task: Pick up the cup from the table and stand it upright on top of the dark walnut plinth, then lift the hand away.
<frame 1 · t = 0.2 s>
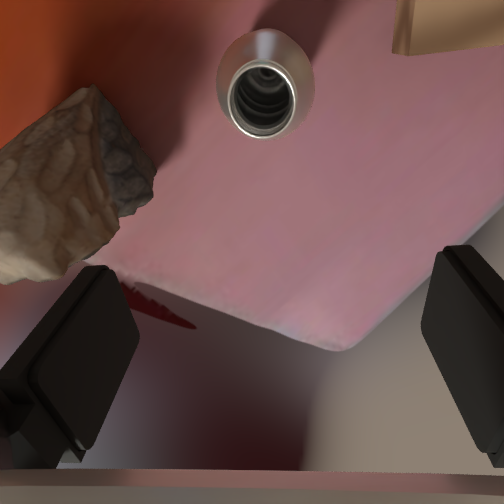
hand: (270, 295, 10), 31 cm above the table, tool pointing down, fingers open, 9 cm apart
plastic bottle: (268, 67, 34), on the table
brown rock: (103, 145, 40), on the table
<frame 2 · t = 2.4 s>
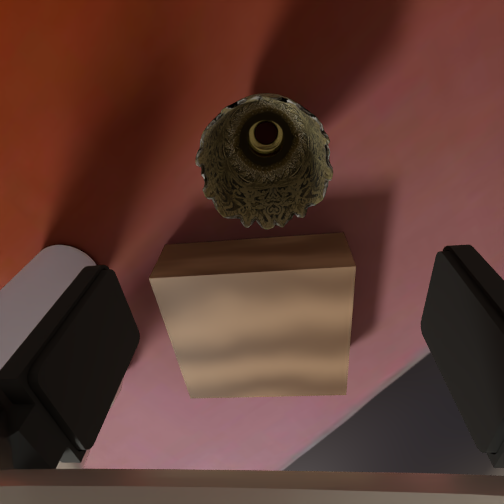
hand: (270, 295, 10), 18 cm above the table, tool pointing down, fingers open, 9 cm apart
spray bottle: (72, 267, 33), on the table
walnut plinth: (260, 305, 34), on the table
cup: (266, 132, 25), on the table
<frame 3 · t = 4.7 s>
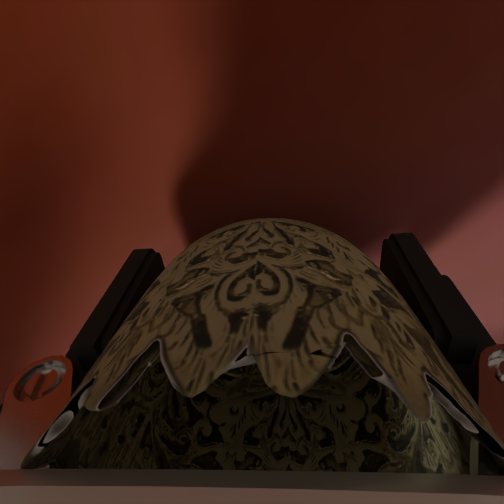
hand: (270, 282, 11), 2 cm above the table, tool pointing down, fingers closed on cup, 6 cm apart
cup: (272, 252, 12), on the table, touching gripper
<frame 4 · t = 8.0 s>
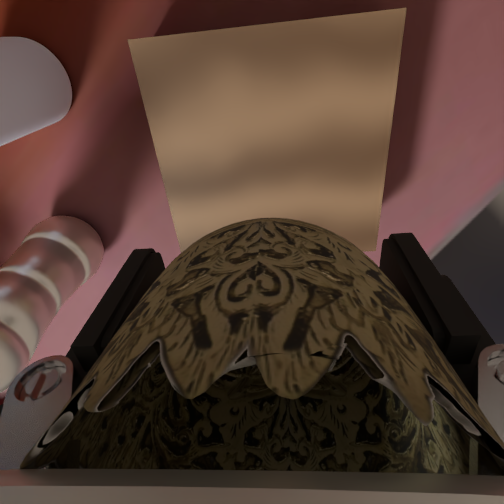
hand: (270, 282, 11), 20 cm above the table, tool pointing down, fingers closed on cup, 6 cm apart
spray bottle: (37, 82, 26), on the table
walnut plinth: (271, 141, 28), on the table
plastic bottle: (79, 236, 34), on the table
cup: (273, 252, 12), point 18 cm above the table, touching gripper
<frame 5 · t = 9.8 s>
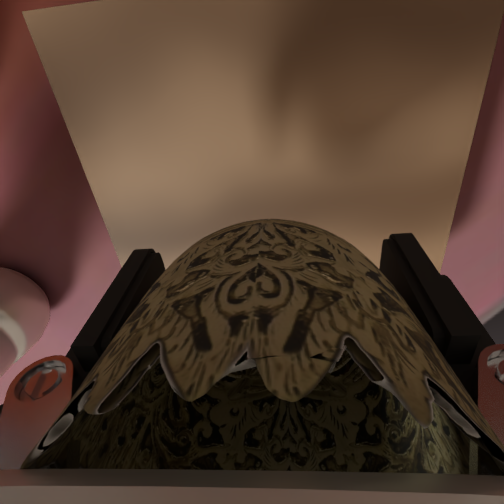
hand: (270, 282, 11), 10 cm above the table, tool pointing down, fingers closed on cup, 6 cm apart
walnut plinth: (271, 167, 19), on the table
plastic bottle: (20, 289, 26), on the table
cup: (273, 253, 12), point 9 cm above the table, touching gripper
when the fingers open (8 cm above the table, at t = 11.2 s): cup drops 1 cm, resting on walnut plinth.
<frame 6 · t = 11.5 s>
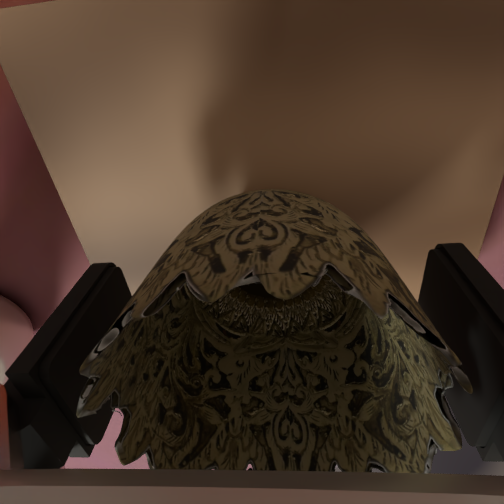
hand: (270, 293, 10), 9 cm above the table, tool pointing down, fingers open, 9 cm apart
walnut plinth: (273, 184, 17), on the table
plastic bottle: (1, 311, 24), on the table
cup: (272, 226, 13), point 5 cm above the table, touching walnut plinth
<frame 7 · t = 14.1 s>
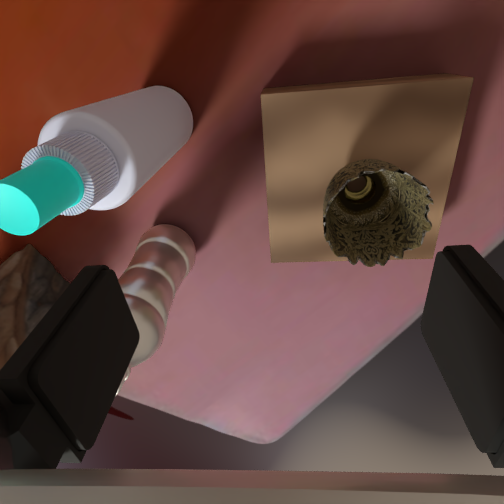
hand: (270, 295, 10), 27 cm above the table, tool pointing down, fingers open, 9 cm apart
spray bottle: (164, 118, 33), on the table
walnut plinth: (346, 168, 34), on the table
plastic bottle: (173, 241, 41), on the table
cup: (355, 182, 30), point 5 cm above the table, touching walnut plinth
brown rock: (41, 284, 46), on the table
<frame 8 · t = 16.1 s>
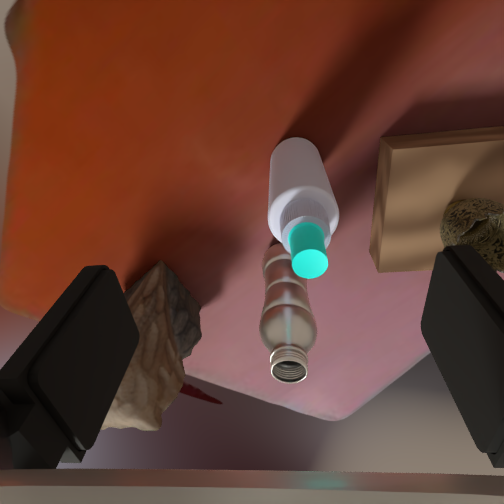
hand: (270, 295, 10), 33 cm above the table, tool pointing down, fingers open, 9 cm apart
spray bottle: (294, 160, 42), on the table
walnut plinth: (439, 195, 43), on the table
plastic bottle: (284, 255, 49), on the table
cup: (456, 210, 39), point 5 cm above the table, touching walnut plinth
brown rock: (163, 292, 55), on the table
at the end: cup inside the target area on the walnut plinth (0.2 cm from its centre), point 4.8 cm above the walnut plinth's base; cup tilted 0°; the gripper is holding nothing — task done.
